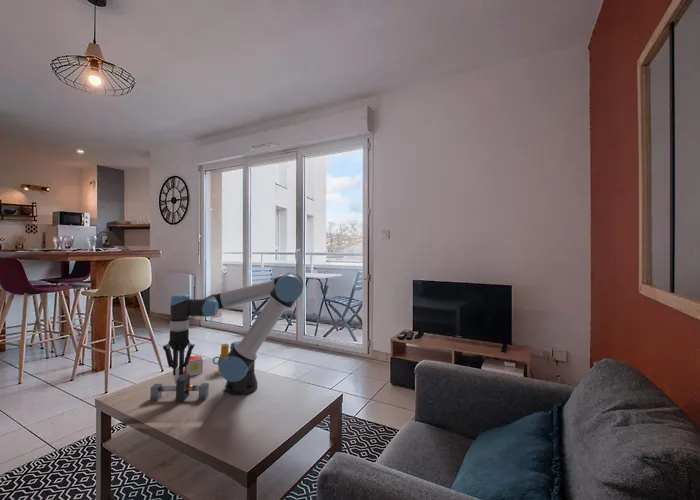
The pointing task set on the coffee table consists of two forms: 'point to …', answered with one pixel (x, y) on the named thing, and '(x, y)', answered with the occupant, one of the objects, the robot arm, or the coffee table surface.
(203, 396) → the rail
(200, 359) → the red gray cube
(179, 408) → the coffee table surface
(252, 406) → the coffee table surface
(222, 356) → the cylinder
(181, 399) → the dark gray notched block
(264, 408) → the coffee table surface
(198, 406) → the coffee table surface
